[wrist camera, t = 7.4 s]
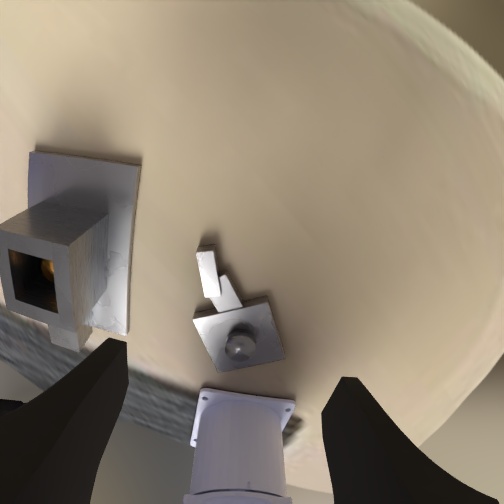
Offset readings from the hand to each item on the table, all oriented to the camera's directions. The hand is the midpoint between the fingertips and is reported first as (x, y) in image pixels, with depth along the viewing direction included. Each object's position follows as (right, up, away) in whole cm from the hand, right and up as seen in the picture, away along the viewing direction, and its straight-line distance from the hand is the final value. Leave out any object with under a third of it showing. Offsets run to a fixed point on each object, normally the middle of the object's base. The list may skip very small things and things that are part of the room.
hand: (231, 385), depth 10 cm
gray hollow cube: (-11, +5, +9) cm, 15 cm away
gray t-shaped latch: (-1, +1, +11) cm, 11 cm away
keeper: (-11, +5, +9) cm, 15 cm away
